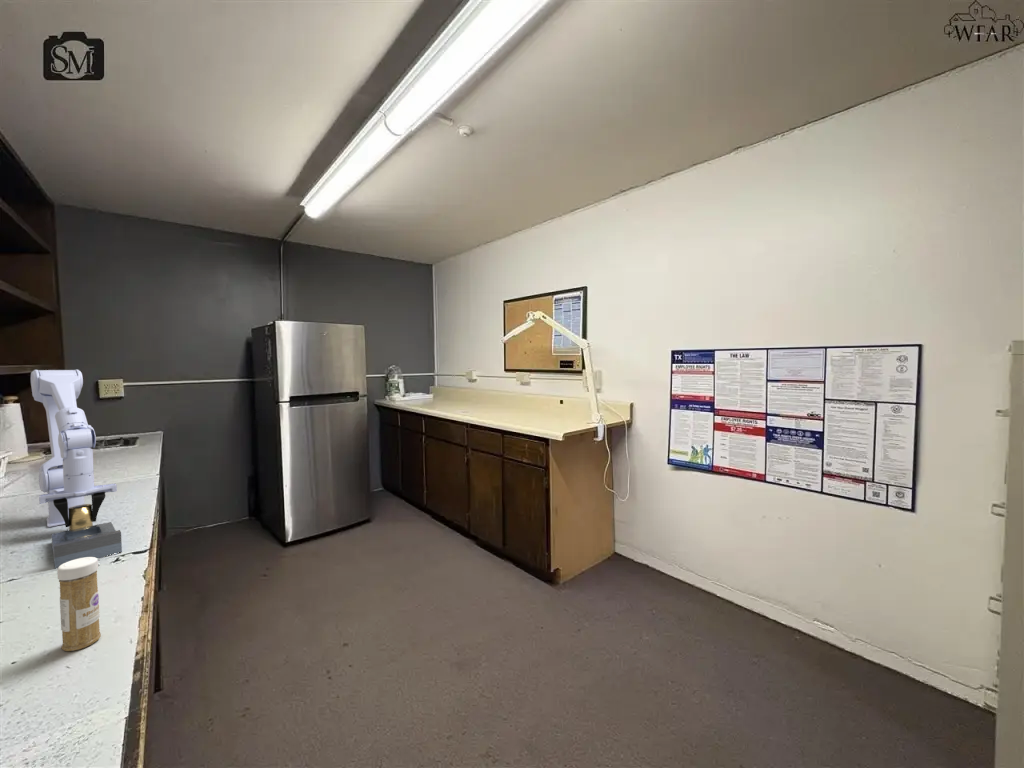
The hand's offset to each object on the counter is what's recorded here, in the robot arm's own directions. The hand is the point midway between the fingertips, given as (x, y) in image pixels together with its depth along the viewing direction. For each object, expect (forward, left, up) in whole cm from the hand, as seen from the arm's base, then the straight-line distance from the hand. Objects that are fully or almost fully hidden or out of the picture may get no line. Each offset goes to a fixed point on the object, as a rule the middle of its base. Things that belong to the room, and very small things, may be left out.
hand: (81, 523), depth 114 cm
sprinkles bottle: (+65, -3, -3) cm, 65 cm away
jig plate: (+15, 0, -2) cm, 15 cm away
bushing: (0, 0, -2) cm, 2 cm away
